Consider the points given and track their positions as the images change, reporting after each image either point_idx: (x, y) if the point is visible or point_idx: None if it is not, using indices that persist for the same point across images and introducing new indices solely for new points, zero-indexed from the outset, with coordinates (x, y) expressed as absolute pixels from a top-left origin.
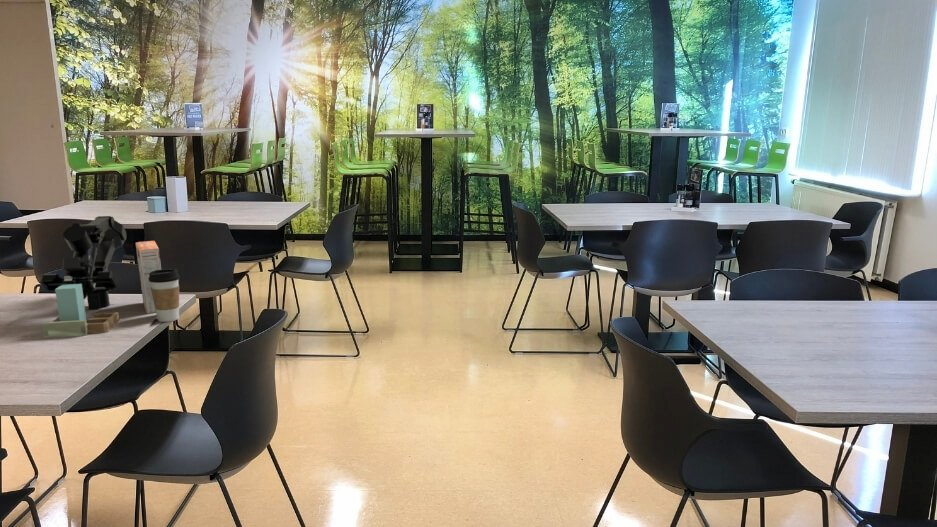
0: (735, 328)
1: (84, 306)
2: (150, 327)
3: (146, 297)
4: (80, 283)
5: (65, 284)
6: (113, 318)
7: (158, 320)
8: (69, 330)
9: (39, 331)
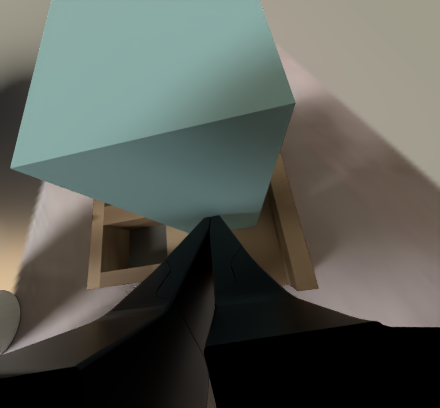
0: None
1: (168, 224)
2: (37, 238)
3: None
4: (91, 341)
5: (381, 351)
6: (95, 224)
7: (16, 301)
8: None
9: (345, 215)
